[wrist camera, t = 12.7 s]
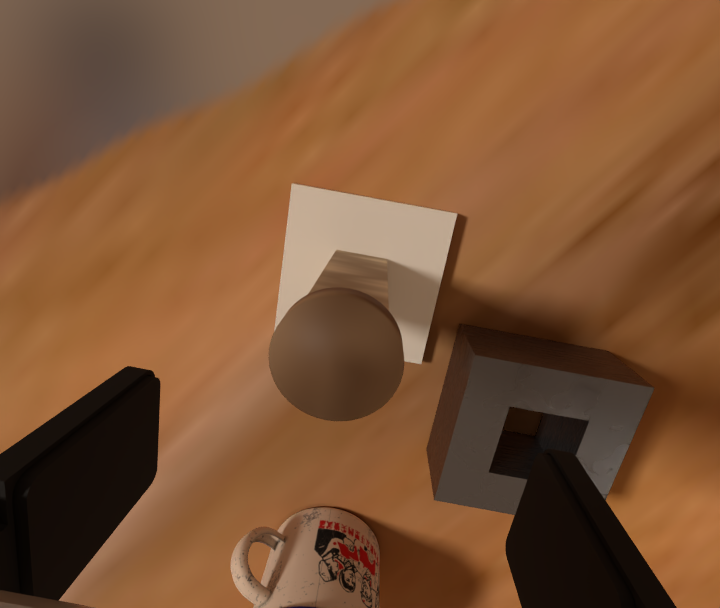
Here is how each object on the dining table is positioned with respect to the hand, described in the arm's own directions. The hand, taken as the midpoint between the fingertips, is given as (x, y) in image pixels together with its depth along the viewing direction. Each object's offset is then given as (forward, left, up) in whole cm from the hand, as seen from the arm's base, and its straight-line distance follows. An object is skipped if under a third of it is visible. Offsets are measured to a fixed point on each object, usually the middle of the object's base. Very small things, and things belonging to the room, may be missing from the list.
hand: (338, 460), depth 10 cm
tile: (0, 0, -18) cm, 18 cm away
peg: (+1, 0, -17) cm, 17 cm away
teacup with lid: (0, +22, -18) cm, 28 cm away
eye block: (-12, +7, -18) cm, 22 cm away
